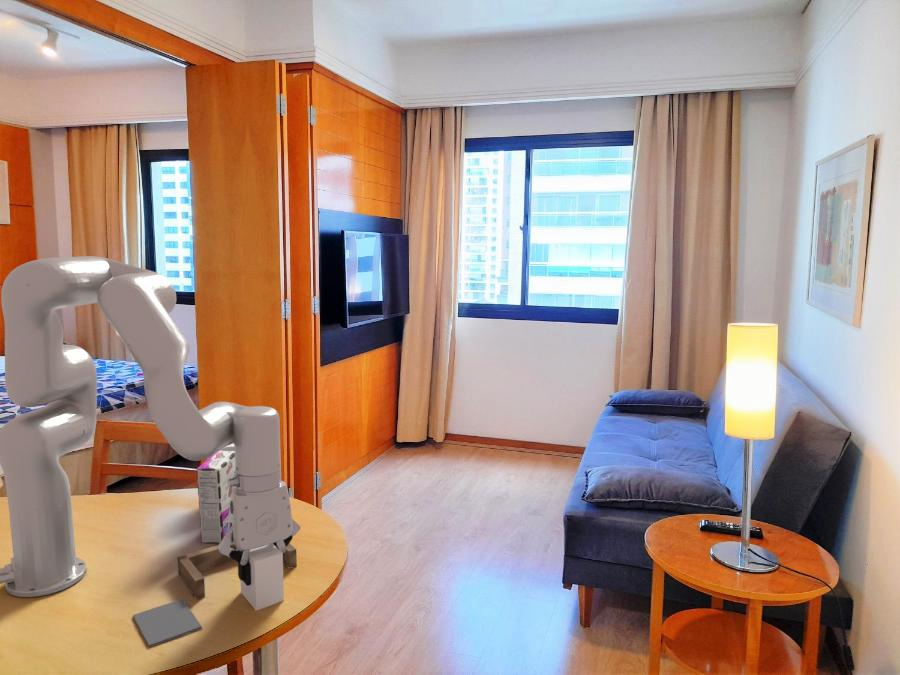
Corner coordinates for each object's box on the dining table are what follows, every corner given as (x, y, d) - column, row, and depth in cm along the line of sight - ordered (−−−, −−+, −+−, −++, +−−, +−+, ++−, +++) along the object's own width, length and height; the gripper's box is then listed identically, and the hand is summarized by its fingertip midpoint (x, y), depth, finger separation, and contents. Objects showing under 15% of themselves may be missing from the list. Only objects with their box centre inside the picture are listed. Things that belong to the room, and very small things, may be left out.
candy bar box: (219, 519, 144) (216, 449, 141) (241, 520, 144) (239, 450, 141) (199, 543, 133) (195, 468, 130) (223, 544, 133) (219, 468, 130)
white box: (256, 610, 110) (254, 561, 108) (240, 592, 115) (239, 545, 114) (283, 600, 113) (282, 553, 111) (267, 583, 118) (266, 537, 117)
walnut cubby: (196, 599, 113) (195, 580, 112) (178, 574, 121) (177, 556, 120) (296, 566, 125) (296, 549, 124) (274, 545, 133) (273, 529, 132)
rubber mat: (149, 647, 100) (149, 645, 100) (133, 617, 107) (133, 614, 107) (201, 628, 105) (201, 626, 105) (182, 600, 112) (182, 598, 112)
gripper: (216, 498, 102) (220, 603, 105) (313, 474, 113) (315, 570, 116) (200, 483, 108) (205, 583, 111) (294, 462, 119) (296, 554, 122)
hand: (261, 575), depth 113 cm, fingers closed on white box, 5 cm apart
